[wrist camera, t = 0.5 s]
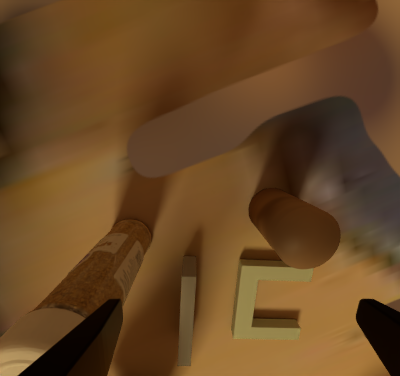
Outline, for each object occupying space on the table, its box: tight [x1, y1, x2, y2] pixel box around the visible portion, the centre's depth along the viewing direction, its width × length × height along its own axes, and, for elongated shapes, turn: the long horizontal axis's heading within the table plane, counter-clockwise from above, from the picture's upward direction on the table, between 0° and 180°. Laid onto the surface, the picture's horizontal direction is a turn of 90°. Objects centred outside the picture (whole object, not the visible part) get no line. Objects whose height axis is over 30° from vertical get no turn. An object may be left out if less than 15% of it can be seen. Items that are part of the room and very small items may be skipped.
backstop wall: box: [178, 256, 196, 366], centre depth 21 cm, size 11×1×4 cm, turn 176°
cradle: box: [231, 259, 314, 340], centre depth 22 cm, size 10×8×1 cm
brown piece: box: [249, 188, 340, 269], centre depth 17 cm, size 5×5×7 cm
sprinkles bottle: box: [0, 219, 151, 376], centre depth 14 cm, size 5×5×13 cm
